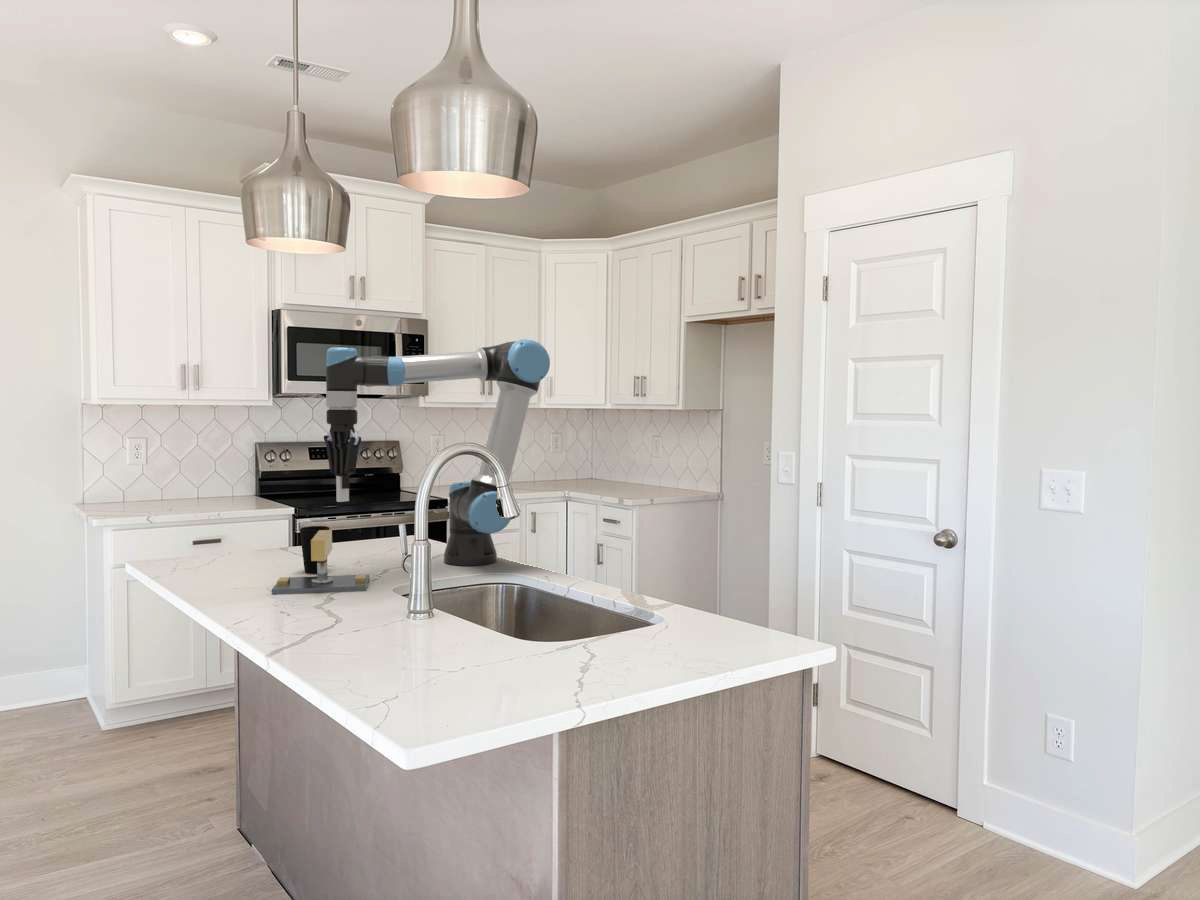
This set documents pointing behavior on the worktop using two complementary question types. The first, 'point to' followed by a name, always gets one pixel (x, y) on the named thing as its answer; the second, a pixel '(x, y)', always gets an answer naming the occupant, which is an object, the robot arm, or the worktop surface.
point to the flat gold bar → (321, 545)
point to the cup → (309, 547)
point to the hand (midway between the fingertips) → (342, 501)
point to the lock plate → (321, 583)
